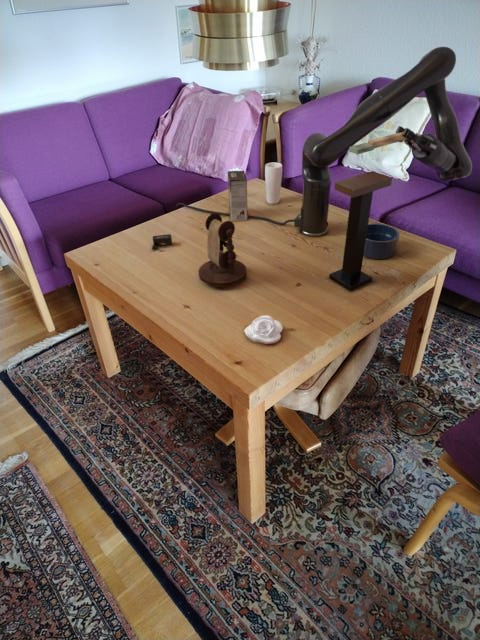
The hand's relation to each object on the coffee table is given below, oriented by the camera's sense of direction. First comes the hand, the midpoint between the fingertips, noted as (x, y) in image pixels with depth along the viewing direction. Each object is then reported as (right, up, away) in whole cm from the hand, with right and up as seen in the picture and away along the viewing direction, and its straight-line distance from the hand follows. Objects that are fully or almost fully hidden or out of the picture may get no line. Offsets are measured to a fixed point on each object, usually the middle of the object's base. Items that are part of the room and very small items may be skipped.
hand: (401, 130), depth 131 cm
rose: (-39, -56, -7) cm, 69 cm away
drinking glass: (-31, -5, +61) cm, 69 cm away
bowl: (0, -29, +27) cm, 39 cm away
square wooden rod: (-6, -4, -1) cm, 7 cm away
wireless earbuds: (-72, -27, +32) cm, 84 cm away
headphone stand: (-11, -40, +12) cm, 44 cm away
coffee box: (-45, -13, +51) cm, 69 cm away
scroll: (-50, -39, +15) cm, 66 cm away
